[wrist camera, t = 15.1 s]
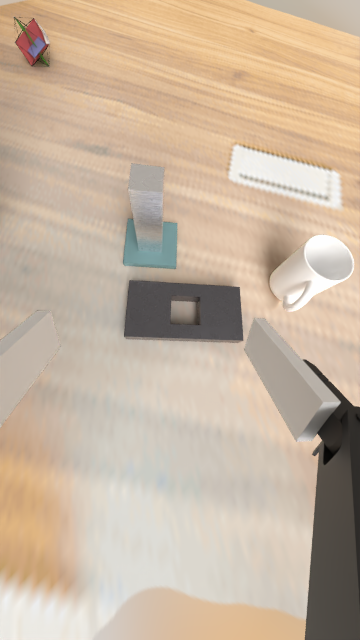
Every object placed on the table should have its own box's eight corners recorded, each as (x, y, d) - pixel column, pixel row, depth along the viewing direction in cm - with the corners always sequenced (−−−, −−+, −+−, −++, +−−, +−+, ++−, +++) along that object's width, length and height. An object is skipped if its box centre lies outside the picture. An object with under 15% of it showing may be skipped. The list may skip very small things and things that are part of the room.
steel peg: (138, 250, 37) (128, 189, 25) (140, 231, 38) (131, 163, 26) (161, 252, 37) (162, 192, 25) (162, 233, 39) (164, 167, 26)
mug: (293, 327, 37) (342, 311, 27) (255, 308, 37) (289, 285, 28) (310, 279, 41) (359, 249, 31) (275, 261, 41) (312, 226, 31)
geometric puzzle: (22, 64, 46) (23, 11, 41) (7, 48, 47) (6, -6, 42) (54, 83, 51) (58, 38, 46) (39, 68, 52) (42, 23, 47)
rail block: (126, 339, 33) (124, 336, 31) (131, 286, 36) (129, 280, 34) (237, 342, 35) (243, 340, 33) (234, 292, 38) (239, 287, 35)
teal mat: (124, 265, 37) (123, 262, 36) (128, 222, 40) (127, 218, 39) (175, 268, 38) (176, 266, 37) (176, 226, 41) (177, 223, 40)
